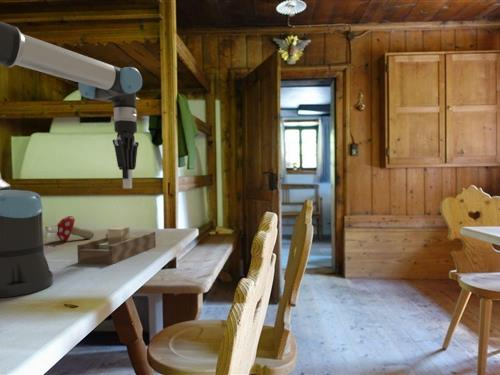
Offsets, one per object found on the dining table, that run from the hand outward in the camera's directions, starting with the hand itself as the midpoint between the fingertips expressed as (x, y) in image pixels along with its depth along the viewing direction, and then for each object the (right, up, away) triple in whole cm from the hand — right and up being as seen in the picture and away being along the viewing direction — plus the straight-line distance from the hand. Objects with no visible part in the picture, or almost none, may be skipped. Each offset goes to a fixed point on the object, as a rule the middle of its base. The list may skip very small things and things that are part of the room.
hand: (127, 188), depth 131 cm
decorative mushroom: (-30, -22, +25) cm, 45 cm away
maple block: (-1, -18, -6) cm, 19 cm away
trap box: (-1, -22, -5) cm, 23 cm away
